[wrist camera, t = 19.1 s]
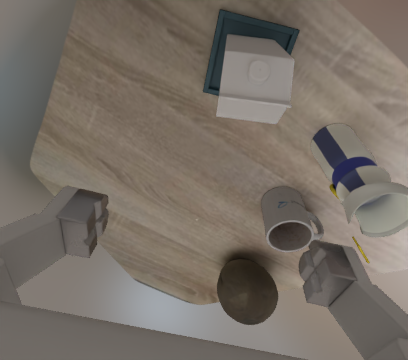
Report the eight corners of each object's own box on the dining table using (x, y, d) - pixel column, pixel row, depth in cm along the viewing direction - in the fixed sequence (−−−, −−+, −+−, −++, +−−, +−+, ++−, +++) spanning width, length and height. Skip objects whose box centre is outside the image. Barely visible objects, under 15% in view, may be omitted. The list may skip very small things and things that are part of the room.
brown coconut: (232, 283, 75) (233, 338, 63) (209, 254, 68) (204, 310, 56) (279, 271, 70) (290, 329, 58) (259, 239, 63) (266, 296, 51)
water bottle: (331, 171, 51) (398, 287, 30) (299, 148, 48) (348, 257, 28) (368, 140, 46) (475, 252, 26) (335, 113, 44) (424, 213, 24)
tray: (203, 89, 44) (202, 92, 42) (220, 9, 37) (219, 9, 36) (269, 105, 44) (270, 108, 43) (297, 29, 37) (299, 30, 36)
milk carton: (263, 88, 42) (281, 139, 27) (220, 82, 42) (214, 130, 27) (274, 39, 38) (303, 67, 23) (227, 33, 38) (224, 57, 23)
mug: (253, 207, 58) (257, 241, 49) (277, 180, 53) (285, 213, 45) (297, 228, 60) (308, 264, 52) (324, 204, 55) (340, 239, 47)
